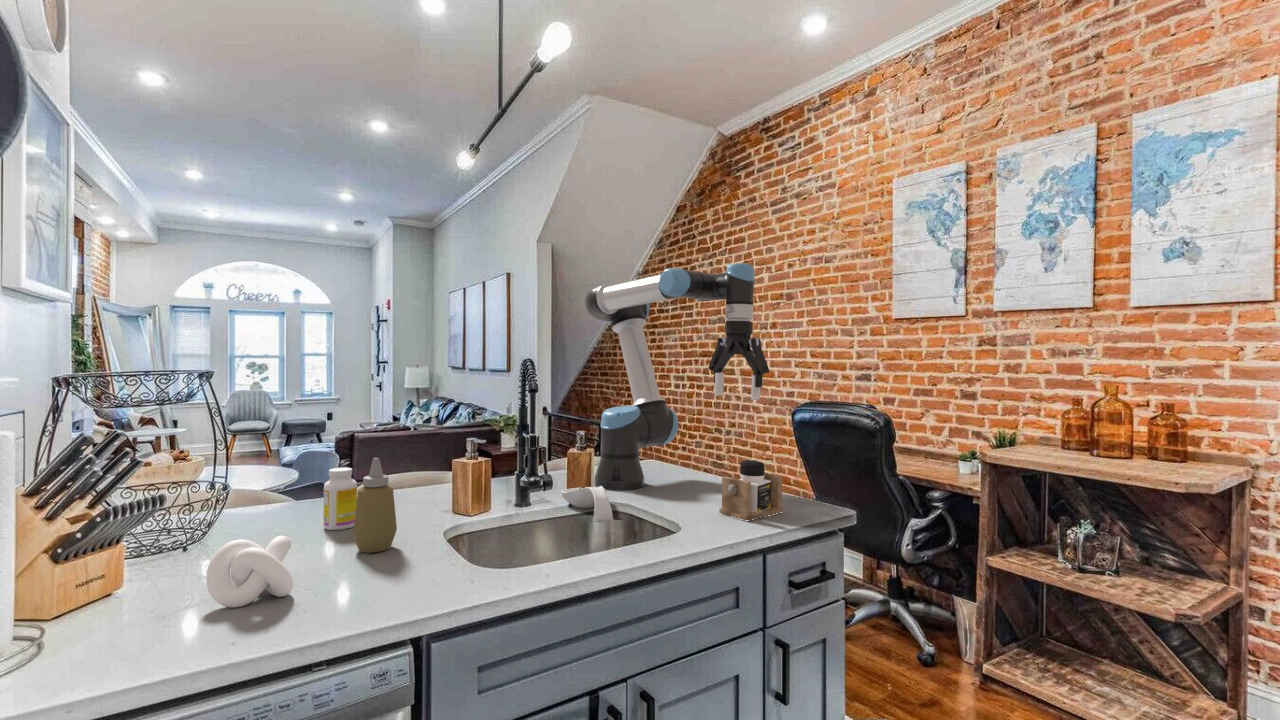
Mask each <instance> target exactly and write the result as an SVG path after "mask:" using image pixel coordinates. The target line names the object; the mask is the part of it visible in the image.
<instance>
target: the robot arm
mask: <svg viewBox="0 0 1280 720" xmlns="http://www.w3.org/2000/svg"><path fill="white" fill-rule="evenodd" d="M725 271H726V272H724V273H709V272H701V271H695V270H689V269H683V268H680V267H668V268H666V269H664V270H663V271H662V272H661V273H659V274H655V275H651V276H646V277H641V278H639V279H634V280H630V281H626V282H620V283H616V284H613V283H609V282H607V283H602V284H598V285H595V286H592V287H591V288H590V289H589V290H588V291H587V293H586V296H585V298H584V299H585V300H584V305H585V309H586V311H587V312H588V314H589V315H590V316H591V317H592V318H594V319H596V320H599V321H603V322H604V321H606V322H610V325H611V329H612V331H613V332H614V333H616V334H617V335H618V336H617V337H618V339H619V340H618V341H619V344H620V347H621V351H622V357H623V360H624V365H625V370H626V375H627V378H628V379H627V380H628V383H629V387H630V391H631V396H632V401H633V403H632V404H631V405H623V406H615V407H610V408H607V409H604V411H602V414H601V421H600V460H599V463H598V465H597V468H596V469H597V470H596V473H595V475H594V479H593V480H594V481H593V483H594V487H599V486H602V487H603V488H604V489H606V490H611V491H612V490H617V491H624V490H625V491H626V490H628V491H629V490H635V489H640V488H642V487H644V486H645V475H644V473H643V469H642V466H641V463H640V449H642V448H648V447H660V446H663V445H668V444H670V443H671V442H672V441H673V440H674V439H675V438H676V434H677V433H678V430H679V418H678V416H677V413H676V412H675V411H674V410H673V409H672V408H668V405H667V402H666V399H664V398H663V397H661V396H660V392H659V389H658V384H657V380H656V376H655V372H654V367H653V362H652V360H651V355H650V354H651V353H650V350H649V347H648V343H647V338H646V335H645V334H646V333H645V331H644V327H645V326H646V324H647V319H648V317H649V315H650V313H649V312H650V310H651V308H650V306H651V304H653V303H658V302H663V301H664V302H665V301H669V300H675V299H679V298H685V299H686V298H687V299H694V300H696V301H699V302H700V301H701V302H710V301H711V302H712V301H721V300H723V301H725V322H724V327H725V328H724V334H725V335H726V337H718V338H717V343H716V347H715V349H714V352H713V354H712V358H711V360H710V362H709V364H708V370H709V371H712V372H713V384H714V396H715V397H718V396H719V397H722V396H724V384H725V379H724V377H725V373H724V371H723V370H724V368H725V367H726V366H727V364H728V363H729V361H730V360H731V358H732V357H733V356H735V355H741V356H742V357H744V359H745V360H746V362H747V364H748V366H749V367H750V369H751V371H752V373H753V374H752V375H751V390H750V391H751V392H750V393H751V394H750V395H751V396H750V400H751V401H759V400H761V388H762V387H763V376H764V375H767V374H769V373H770V369H769V366H768V363H767V360H766V357H765V355H764V352H763V348H762V346H761V345H762V344H761V338H757V337H751V336H752V335H753V331H754V330H753V329H754V327H753V326H754V324H753V321H752V320H753V319H754V294H755V293H754V290H755V268H754V265H752V264H749V263H742V262H741V263H731V264H728V265H727V266H726V270H725Z"/></svg>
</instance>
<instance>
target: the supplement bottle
mask: <svg viewBox="0 0 1280 720" xmlns="http://www.w3.org/2000/svg"><path fill="white" fill-rule="evenodd" d="M328 476H329V480H327V481H326V482H325V483H324V486H323V527H324V529H325V530H328V531H341V530H349V529H351V528H354V520H355V512H356V503H357V495H358V482H357V481H356V480H355V479H354V478H352V476H353V468H351V467H334V468H330V469H329V470H328Z"/></svg>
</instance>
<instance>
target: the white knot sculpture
mask: <svg viewBox="0 0 1280 720" xmlns="http://www.w3.org/2000/svg"><path fill="white" fill-rule="evenodd" d="M291 546H292V540H291V538H289V537H288V536H285V535H277V536H276V537H274V538H273V539H271V540H270V542H269V544H268V545H267V546H266V547H265V548H263V547H262V546H261V545H259V544H257V543H256V542H254V541H252V540H248V539H235V540H232V541H229V542H227V543H225V544H224V545H222V546H221V547H220V548H218V550H216V552H215V553H214V555H213V556H212V557H211V559H210V561H209V564H208V566H207V568H206V569H207V570H206V577H205V581H206V588H207V591H208V593H209V594H210V596H211V598H212V599H213V601H215V602H216V603H217V604H219V605H221V606H223V607H227V608H230V609H231V608H241V607H244V606H246V605H248V604H250V603H252V602H253V601H255V600H256V599H257V598H258V597H259V596H260V595H261V594H262V593H263V591H264V590H265V589H266V590H267V592H269V594H271V596H274V597H277V598H281V597H287V595H289V594H291V592H292V590H293V588H294V578H293V577H292V575H291V573H290V571H289V570H288V569H287V567H286V566H285V565H284V564H283V561H284V559H285V558H286V556H287V554H288V553H289V551H290V549H291Z"/></svg>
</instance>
